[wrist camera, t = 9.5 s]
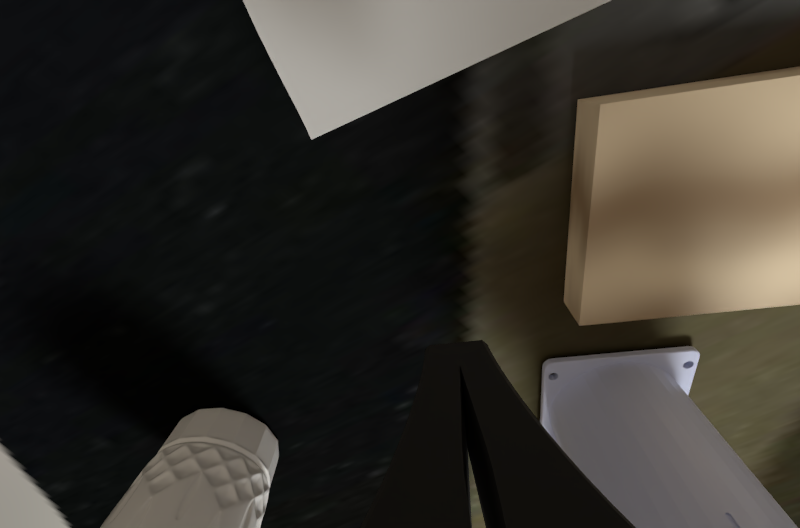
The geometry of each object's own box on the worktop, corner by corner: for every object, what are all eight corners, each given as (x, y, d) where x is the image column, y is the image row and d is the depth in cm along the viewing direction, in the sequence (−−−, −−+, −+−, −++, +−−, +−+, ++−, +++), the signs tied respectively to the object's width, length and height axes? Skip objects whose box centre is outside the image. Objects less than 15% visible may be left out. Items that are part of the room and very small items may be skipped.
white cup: (165, 463, 26) (41, 667, 17) (170, 385, 23) (17, 591, 14) (277, 488, 27) (214, 691, 18) (299, 417, 24) (233, 628, 15)
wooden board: (844, 272, 18) (892, 295, 16) (563, 301, 19) (579, 326, 17) (951, 43, 14) (1032, 40, 12) (577, 99, 15) (600, 104, 13)
